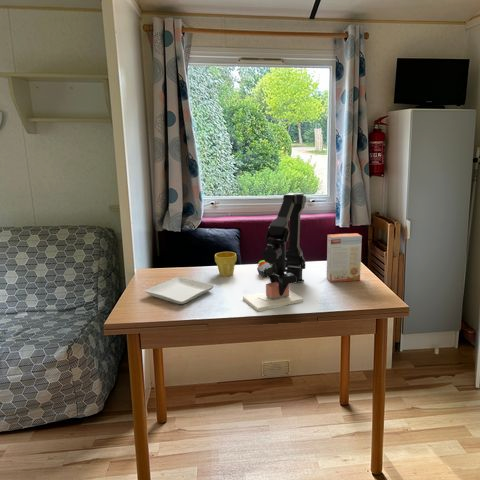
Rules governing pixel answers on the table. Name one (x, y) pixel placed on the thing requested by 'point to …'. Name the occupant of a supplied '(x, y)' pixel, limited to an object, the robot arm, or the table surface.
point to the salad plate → (179, 290)
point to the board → (270, 300)
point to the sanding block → (275, 291)
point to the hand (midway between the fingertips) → (278, 293)
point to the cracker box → (344, 257)
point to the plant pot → (225, 263)
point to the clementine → (261, 263)
